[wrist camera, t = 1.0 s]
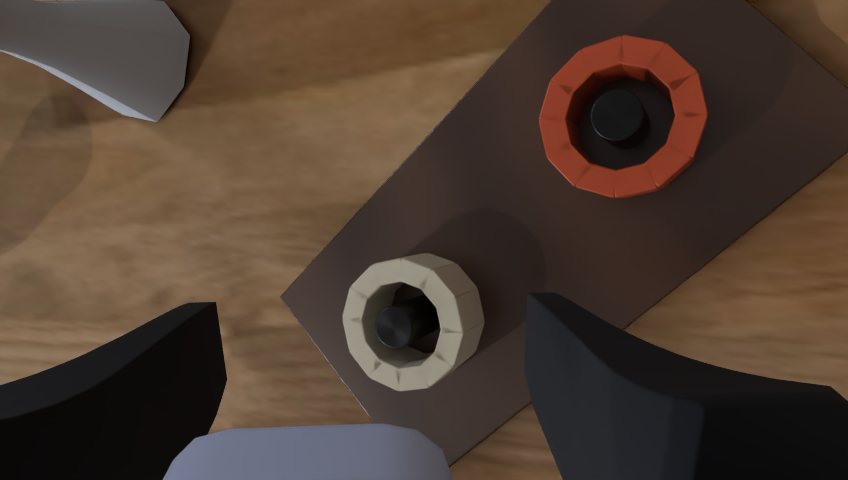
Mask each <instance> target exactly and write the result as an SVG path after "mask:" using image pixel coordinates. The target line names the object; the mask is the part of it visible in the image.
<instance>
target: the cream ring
mask: <svg viewBox="0 0 848 480" xmlns="http://www.w3.org/2000/svg"><path fill="white" fill-rule="evenodd" d="M403 283H406V284H409V285H412V286H414V287H417V288H419V289H421V290H422V291H423V292H424V294H425V295H426V296H427V297H428V298H429V300H430V301H431V302H432V303H433V304H434V306H435V307H436V309H437V314H438V318H439V323H440V328H441V331H440V335H439V338H438V342H437V345H436V349H435V352H431V353H423V352H420V351H418V350H416V349H413V348H411V347H409V346H405V347H403V348H400V349H393V348H389V347H387V346H385V345H384V344H383V343H382V342H381V341H380V340H379V338H378V336H377V334H376V330H375V322H376V318H377V316H378V314H379V313H380V312H381V311H382V310H383V309H384V308H386V307H389V306H392V302H393V299H394V295H395V291H396V290H397V289H398V288H399V287H400V286H401V285H402V284H403ZM342 317H343V324H344V329H345V334H346V338H347V343H348V348H349V350H350V351H349V352H350V353H351V354H352V356H353V357H354V358H355V360H356V361H357V362H358V364H359V365H360V366H361V368H362V369H363V370H364V372H365V373H366V374H367V376H368V377H370V378H371V379H373V380H375V381H377V382H380V383H382V384H384V385H386V386H388V387H390V388H392V389H394V390H396V391H408V390H417V389H425V388H429V387H431V386H433V385H435V384H436V383H437V382H439V381H440V380H442V379H443V378H444V377H446V376H447V375H449V374H450V373H451V372H453V371H454V370H455V369H457V368H458V367H459V366H460V365H461V364H462V363H463V362H465V361H466V360H467V359H468V358H469V357H470V356H471V355H473V354H474V352H475V351H476V350H477V346H478V343H479V340H480V336H481V333H482V330H483V326H484V323H485V321H484V315H483V310H482V305H481V301H480V296H479V292H478V289H477V286H476V285H475V284H474V283H473V282H472V281H471V279H470V278H469V277H468V276H467V275H466V273H465V272H464V271H463V270H462V269H461V268H460V266H459V265H458V264H456V263H455V262H452V261H449V260H447V259H444V258H441V257H438V256H436V255H433V254H430V253H422V254H417V255H412V256H407V257H402V258H397V259H393V260H388V261H384V262H379V263H375V264H373V265H371V266H370V267H369V268H368V269H367V270H366V271H365V272H364V273H363V274H362V275H361V276H360V277H359V278H358V279H357V280H356V281H355V282H354V283H353V284H352V286H351V287H350V289H349V293H348V296H347V300H346V304H345V308H344V312H343V316H342Z"/></svg>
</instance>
